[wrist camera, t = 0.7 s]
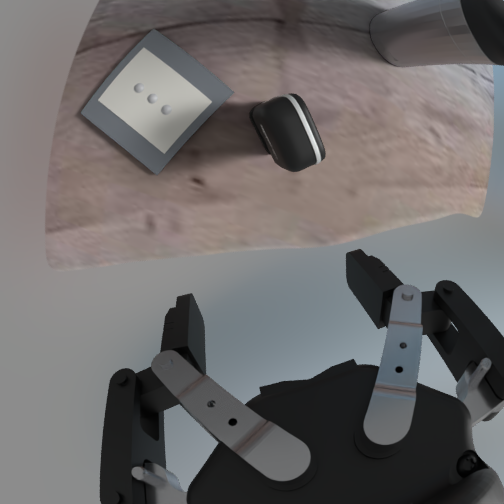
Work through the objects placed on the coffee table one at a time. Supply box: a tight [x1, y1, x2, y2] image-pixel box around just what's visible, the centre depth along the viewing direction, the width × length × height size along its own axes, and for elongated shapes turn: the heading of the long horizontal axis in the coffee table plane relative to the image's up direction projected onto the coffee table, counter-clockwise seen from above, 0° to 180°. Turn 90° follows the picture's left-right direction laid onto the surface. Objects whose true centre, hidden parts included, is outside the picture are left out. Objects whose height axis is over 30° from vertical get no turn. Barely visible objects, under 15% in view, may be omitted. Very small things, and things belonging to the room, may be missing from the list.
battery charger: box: [250, 93, 325, 172], centre depth 25 cm, size 7×4×11 cm, turn 25°
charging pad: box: [81, 29, 234, 175], centre depth 26 cm, size 13×13×1 cm
